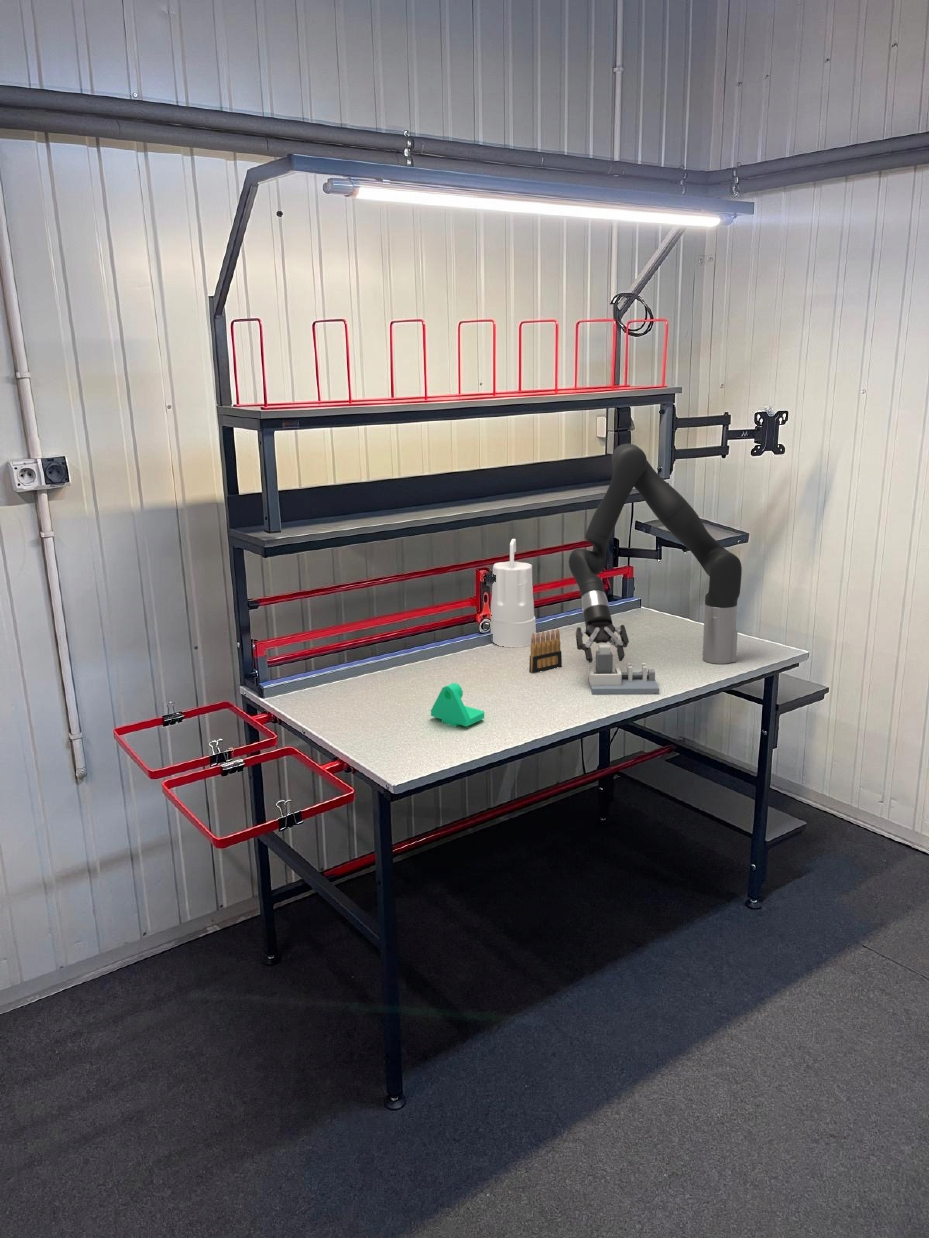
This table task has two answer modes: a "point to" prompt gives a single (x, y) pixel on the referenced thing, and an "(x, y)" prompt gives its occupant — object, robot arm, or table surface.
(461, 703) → the camera mount
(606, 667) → the block
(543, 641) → the ammunition clip
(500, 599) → the white tapered cylinder
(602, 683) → the board
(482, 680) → the table surface
